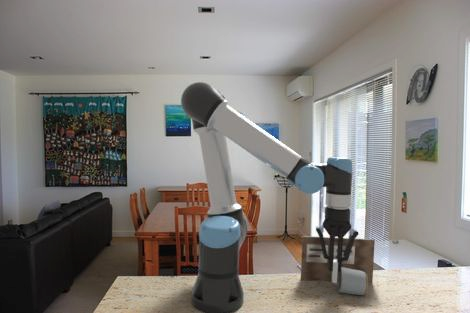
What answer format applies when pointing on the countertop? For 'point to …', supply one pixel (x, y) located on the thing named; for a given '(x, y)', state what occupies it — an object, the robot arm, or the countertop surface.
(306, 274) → the wooden board
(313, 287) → the countertop surface
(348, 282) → the ceramic mug
